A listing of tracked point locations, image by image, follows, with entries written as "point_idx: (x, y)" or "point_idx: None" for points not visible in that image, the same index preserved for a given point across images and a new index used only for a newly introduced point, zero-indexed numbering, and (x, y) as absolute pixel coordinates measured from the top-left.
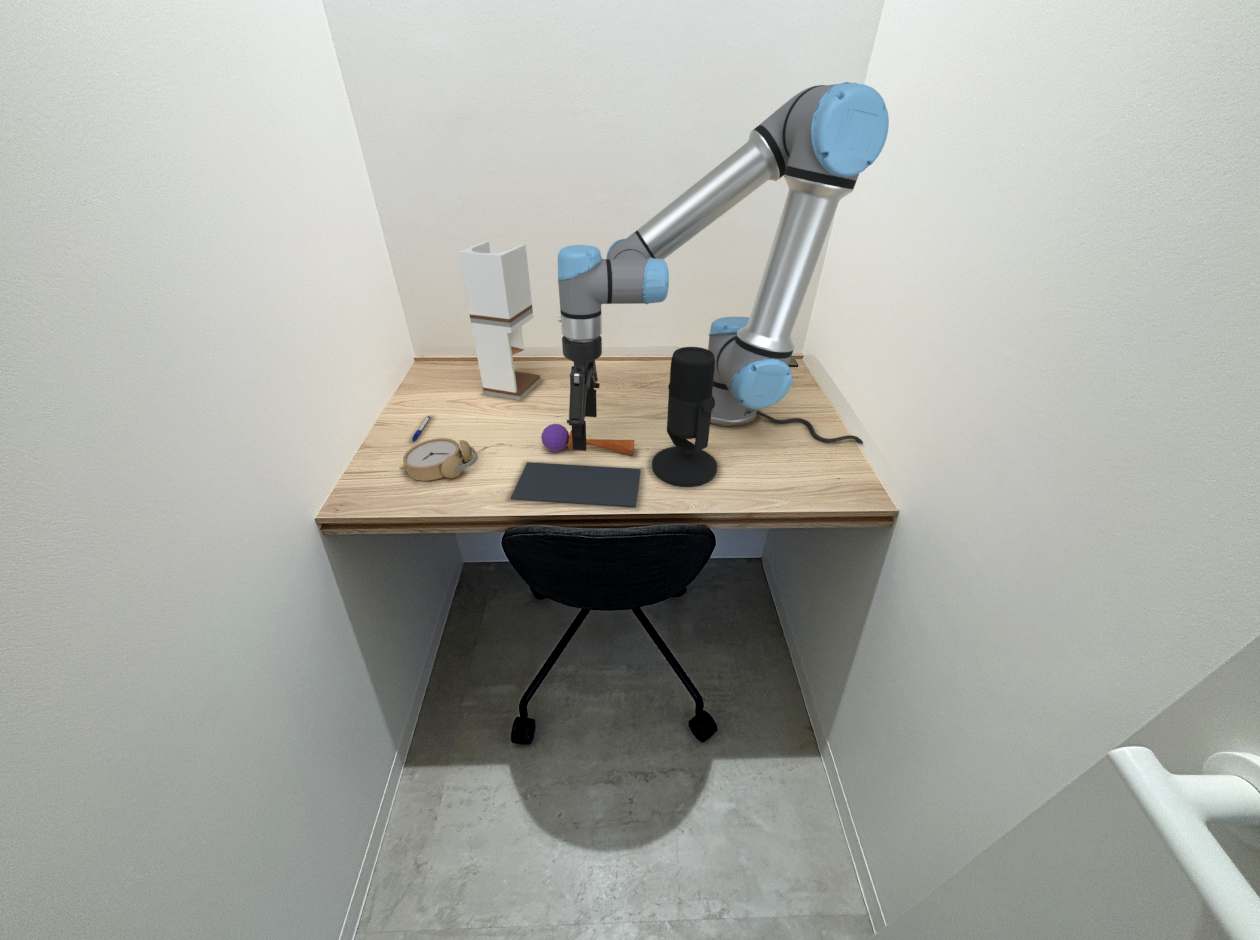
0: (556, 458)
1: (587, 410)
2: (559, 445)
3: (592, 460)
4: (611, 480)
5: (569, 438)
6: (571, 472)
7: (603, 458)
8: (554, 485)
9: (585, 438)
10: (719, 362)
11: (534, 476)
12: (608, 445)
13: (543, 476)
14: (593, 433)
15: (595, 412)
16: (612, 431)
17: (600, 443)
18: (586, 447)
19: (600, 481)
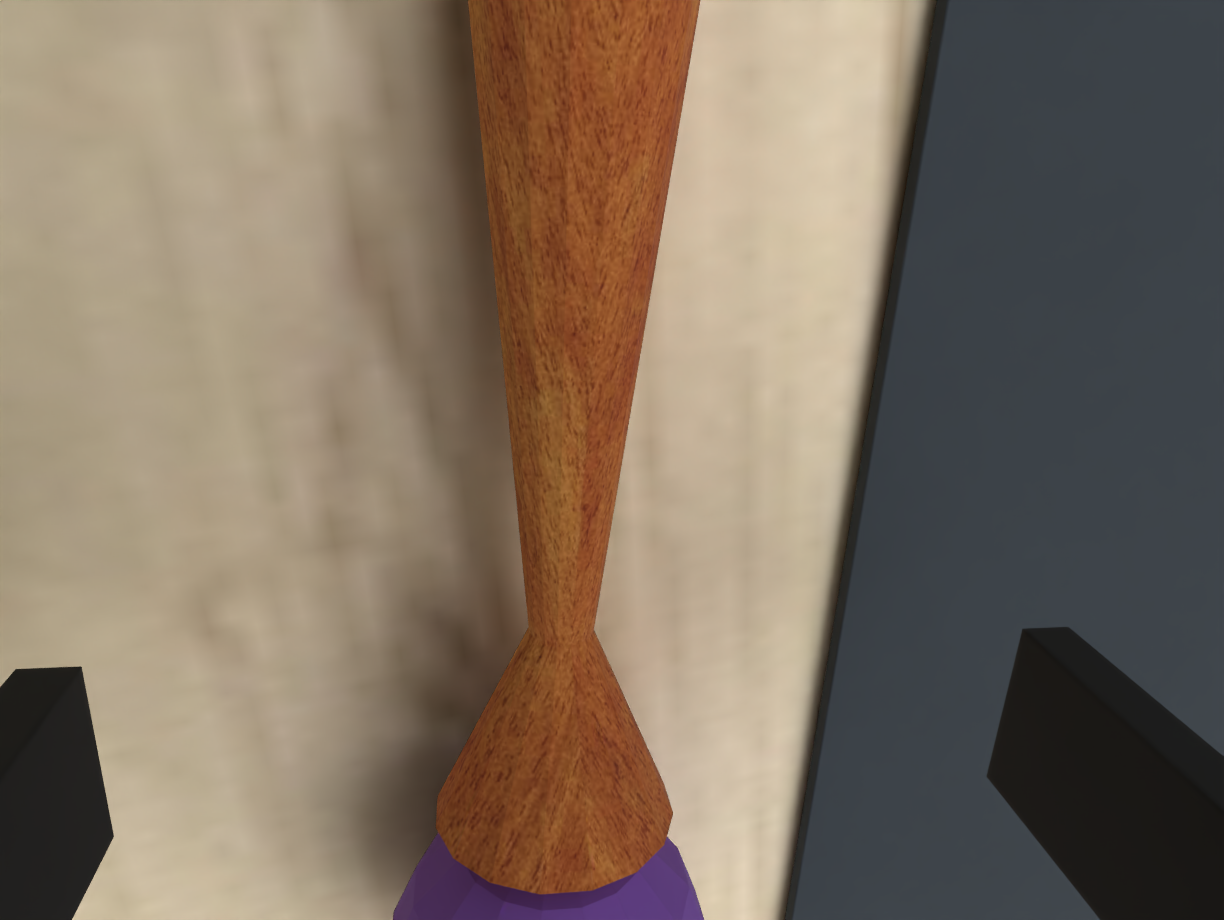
0: (696, 792)
1: (49, 887)
2: (683, 870)
3: (728, 471)
4: (1150, 220)
5: (658, 843)
6: (960, 629)
7: (688, 358)
8: None
9: (1220, 758)
10: None
11: (984, 877)
12: (642, 339)
13: (993, 820)
14: (135, 554)
15: (36, 739)
16: (7, 318)
17: (621, 454)
18: (1049, 643)
19: (1140, 337)
